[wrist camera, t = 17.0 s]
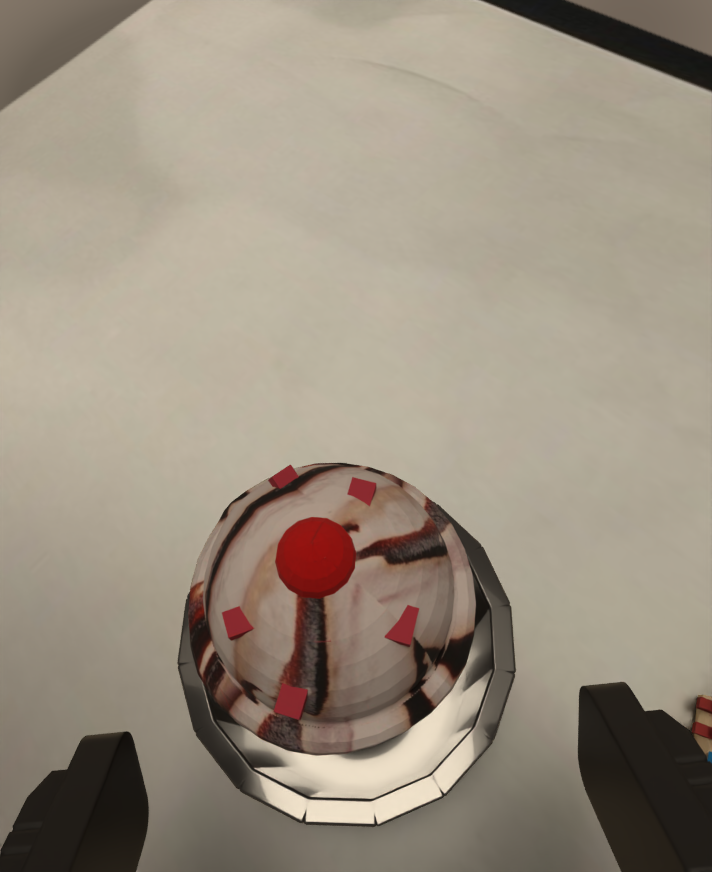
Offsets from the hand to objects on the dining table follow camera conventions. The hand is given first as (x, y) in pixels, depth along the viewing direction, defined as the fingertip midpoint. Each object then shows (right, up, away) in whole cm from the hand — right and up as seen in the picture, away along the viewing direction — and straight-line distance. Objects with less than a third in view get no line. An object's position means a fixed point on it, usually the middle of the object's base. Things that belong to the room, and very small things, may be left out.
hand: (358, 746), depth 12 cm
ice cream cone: (0, -3, +12) cm, 12 cm away
